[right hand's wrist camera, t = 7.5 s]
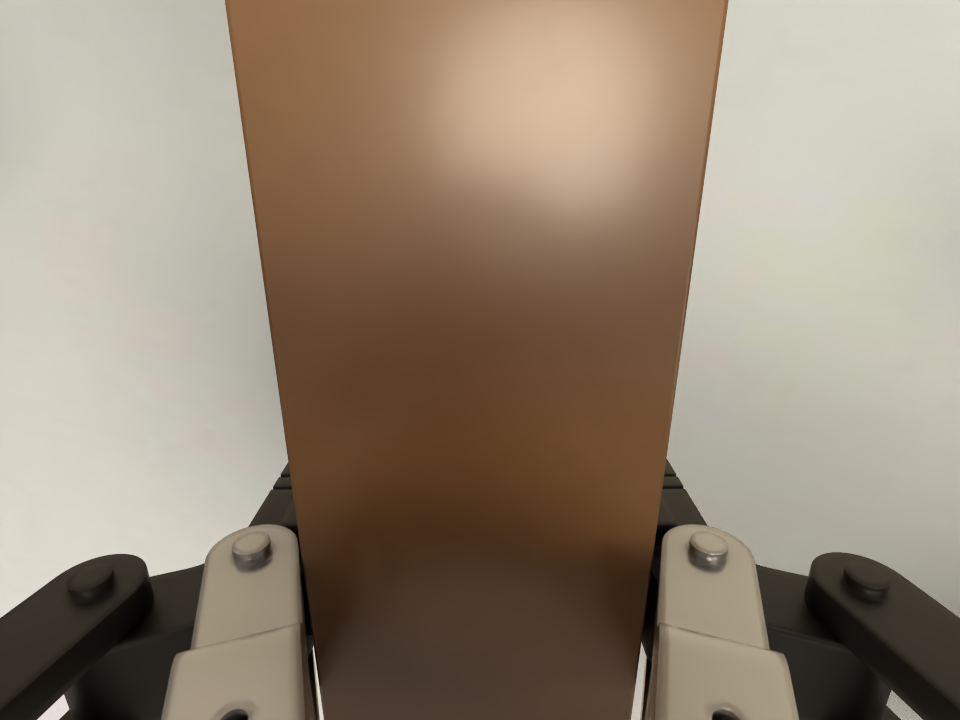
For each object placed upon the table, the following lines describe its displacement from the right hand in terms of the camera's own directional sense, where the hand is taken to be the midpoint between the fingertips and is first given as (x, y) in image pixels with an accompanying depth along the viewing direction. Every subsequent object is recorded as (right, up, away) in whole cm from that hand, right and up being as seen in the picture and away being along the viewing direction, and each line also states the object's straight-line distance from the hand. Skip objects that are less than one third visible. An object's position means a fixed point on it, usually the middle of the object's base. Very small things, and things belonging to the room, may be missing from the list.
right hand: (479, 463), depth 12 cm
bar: (0, +10, 0) cm, 10 cm away
